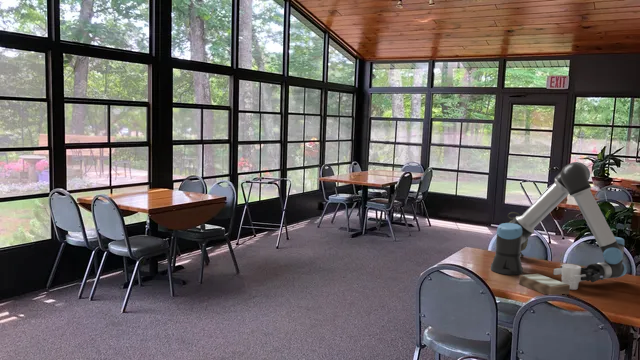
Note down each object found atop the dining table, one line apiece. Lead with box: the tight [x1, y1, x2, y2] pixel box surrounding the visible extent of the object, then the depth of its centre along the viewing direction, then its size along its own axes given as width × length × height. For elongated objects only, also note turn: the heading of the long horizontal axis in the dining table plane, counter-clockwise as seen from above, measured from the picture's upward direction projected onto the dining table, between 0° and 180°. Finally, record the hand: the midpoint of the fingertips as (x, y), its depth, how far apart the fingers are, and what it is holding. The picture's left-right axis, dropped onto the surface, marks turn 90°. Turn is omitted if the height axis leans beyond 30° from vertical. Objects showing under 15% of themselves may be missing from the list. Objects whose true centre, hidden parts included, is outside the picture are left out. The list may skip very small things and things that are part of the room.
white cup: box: [561, 263, 582, 291], centre depth 236 cm, size 8×8×10 cm
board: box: [518, 273, 571, 295], centre depth 232 cm, size 18×11×4 cm, turn 24°
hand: (564, 275), depth 234 cm, fingers open, 10 cm apart
